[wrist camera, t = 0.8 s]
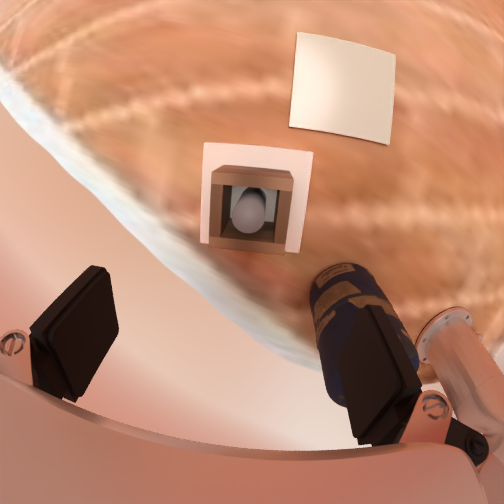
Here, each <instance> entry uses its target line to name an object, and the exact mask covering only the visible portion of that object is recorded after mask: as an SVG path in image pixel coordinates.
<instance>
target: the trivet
mask: <svg viewBox="0 0 504 504" xmlns="http://www.w3.org/2000/svg"><path fill="white" fill-rule="evenodd" d="M394 87H395V54H392V53H389V52H386V51H383V50H380V49H376V48H373V47H369V46H366V45H362V44H358V43H354V42H350V41H346V40H341V39H337V38H332V37H327V36H321V35H316V34H310V33H303V32H297V37H296V50H295V63H294V74H293V86H292V97H291V108H290V118H289V127H296V128H303V129H310V130H317V131H323V132H329V133H334V134H340V135H345V136H350V137H355V138H360V139H364V140H369V141H373V142H378V143H382V144H386V145H389V143H390V135H391V126H392V115H393V103H394Z"/></svg>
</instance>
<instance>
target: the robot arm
mask: <svg viewBox="0 0 504 504" xmlns="http://www.w3.org/2000/svg"><path fill="white" fill-rule="evenodd" d="M472 322H473V321H472V317H471V314H470V313H469V312H468V311H467V310H466V309H465V308H462V307H455V308H451V309H448V310H446V311H444V312H442V313H440V314H439V315H438V316H436V317H435V318H434V319H433V320H431V321H430V322H429V323H428V325H427V326H426V327H425V328H424V329H423V331H422V332H421V334H420V336H419V338H418V340H417V343H416V347H415V348H416V349H417V352H418V355H419V360H420V361H421V362H422V363H425V364H431V365H432V367H433V369H434V371H435V373H436V375H437V377H438V379H439V381H440V383H441V385H442V387H443V389H444V391H445V393H446V395H447V397H448V398H447V397H446V396H445V395H443V394H442V393H440V392H438V391H434V390H428V391H424V392H423V393H422V390H421V387H422V384H421V382H420V379H419V377H418V375H417V373H416V371H415V369H414V367H413V365H412V363H411V361H410V359H409V357H408V355H407V353H406V351H405V349H404V347H403V345H402V343H401V341H400V339H399V337H398V335H397V333H396V331H395V330H394V328H393V326H392V324H391V322H390V320H389V318H388V317H387V315H386V313H385V311H384V309H383V308H382V306H380V305H371V304H367V305H365V306H364V308H361V309H360V310H359V312H358V315H357V317H356V319H355V322H354V324H353V327H352V329H351V331H350V334H349V336H348V338H347V341H346V343H345V345H344V347H343V350H342V352H341V354H340V356H339V358H338V363H337V366H338V371H339V375H340V379H341V383H342V388H343V392H344V396H345V401H346V405H347V410H348V415H349V419H350V424H351V429H352V434H353V436H354V437H355V438H357V440H358V445H364V444H371V445H372V447H367V448H355V449H341V450H322V451H278V450H260V449H248V448H238V447H229V446H221V445H214V444H208V443H202V442H196V441H190V440H186V439H180V438H176V437H172V436H167V435H163V434H159V433H155V432H151V431H147V430H144V429H140V428H137V427H133V426H130V425H127V424H124V423H120V422H117V421H114V420H111V419H109V418H106V417H103V416H100V415H97V414H95V413H92V412H90V411H87V410H85V409H82V408H80V407H77V406H75V405H73V404H70V403H68V402H66V401H63V400H62V398H63V397H64V398H66V399H68V400H70V401H72V402H76V401H77V399H78V397H81V396H83V394H84V393H85V391H86V389H87V387H88V385H89V384H90V382H91V380H92V378H93V376H94V374H95V373H96V371H97V369H98V367H99V366H100V364H101V362H102V360H103V359H104V357H105V355H106V354H107V352H108V350H109V348H110V347H111V345H112V344H113V342H114V340H115V338H116V337H117V335H118V332H119V327H118V321H117V316H116V310H115V304H114V298H113V292H112V285H111V278H110V274H109V273H108V272H107V270H106V269H105V268H104V267H98V266H94V265H91V266H90V267H89V268H87V269H86V270H85V271H84V272H83V273H82V274H81V275H80V276H79V277H78V278H77V279H76V280H75V281H74V282H73V283H72V284H71V285H70V286H69V287H68V288H67V289H66V290H65V291H64V292H63V293H62V294H61V295H60V296H59V297H58V298H57V299H56V300H55V301H54V302H53V303H52V304H51V305H50V306H49V307H48V308H47V309H46V310H45V311H44V312H43V313H42V315H41V316H40V317H39V318H38V319H37V320H36V321H35V322H34V324H32V326H31V327H30V330H31V334H30V335H29V336H28V334H27V333H26V332H24V331H23V330H18V329H17V330H11V331H8V332H6V333H5V334H3V335H2V336H1V337H0V504H504V375H503V373H502V372H501V370H500V369H499V367H498V366H497V364H496V363H495V361H494V360H493V358H492V357H491V355H490V354H489V353H488V351H487V350H486V348H485V347H484V346H483V344H482V343H481V340H482V338H483V335H482V334H476V333H475V332H474V331H473V329H472ZM452 408H453V411H454V413H455V415H456V417H457V420H456V419H454V418H453V417H452ZM479 432H481V433H483V435H482V434H481V433H479Z"/></svg>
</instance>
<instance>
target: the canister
mask: <svg viewBox="0 0 504 504" xmlns="http://www.w3.org/2000/svg"><path fill="white" fill-rule="evenodd" d="M367 304H371V305H380V306H382V308H383V309H384V311H385V313H386V315H387V317H388V318H389V320H390V322H391V324H392V326H393V328H394V330H395V331H396V333H397V335H398V337H399V339H400V341H401V343H402V345H403V347H404V349H405V351H406V353H407V355H408V357H409V359H410V361H411V363H412V365H413V367H414V369H415V371H416V373H417V371H418V367H419V355H418V352H417V349H416V348H415V346H414V344H413V343H412V340H411V338H410V336H409V335H408V333H407V331H406V330H405V328H404V326H403V324H402V322H401V321H400V319H399V318H398V316H397V314H396V313H395V311H394V309H393V307H392V305H391V304H390V302H389V300H388V299H387V297H386V296H385V294H384V293H383V291H382V290H381V289H380V287H379V286H378V285H377V283H376V281H375V279H374V277H373V276H372V274H371V273H370V272H369V271H368V270H367V269H365V268H363V267H362V266H359V265H356V264H340V265H336V266H333V267H331V268H329V269H327V270H325V271H324V272H323V273H322V274H321V275H320V276H319V277H318V278H317V279H316V281H315V282H314V284H313V286H312V289H311V292H310V306H311V311H312V316H313V321H314V326H315V331H316V343H317V348H318V350H319V353H320V359H321V364H322V370H323V376H324V380H325V386H326V390H327V393H328V395H329V396H330V398H331V399H332V400H333V401H334V402H335V403H337V404H338V405H340V406H343V407H346V408H347V405H346V401H345V396H344V392H343V388H342V383H341V379H340V375H339V371H338V366H337V363H338V358H339V356H340V354H341V352H342V350H343V347H344V345H345V343H346V341H347V338H348V336H349V334H350V331H351V329H352V327H353V324H354V322H355V319H356V317H357V315H358V312H359V310H360V309H361V308H364V306H365V305H367Z"/></svg>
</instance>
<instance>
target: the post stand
mask: <svg viewBox="0 0 504 504" xmlns="http://www.w3.org/2000/svg"><path fill="white" fill-rule="evenodd" d="M312 160H313V152H311V151H308V150H300V149H293V148H284V147H276V146H266V145H255V144H243V143H228V142H204V152H203V170H202V192H201V223H200V243H208V244H209V216H210V193H211V174H212V171H214V170H216V169H217V168H219V167H221V166H222V165H237V166H249V167H259V168H269V169H279V170H287V171H290V173H291V175H292V177H293V179H294V183H293V191H292V199H291V207H290V215H289V222H288V230H287V237H286V244H285V251H284V252H293V253H299V250H300V244H301V238H302V232H303V225H304V219H305V212H306V205H307V198H308V191H309V183H310V176H311V168H312ZM276 196H277V190H274V189H265V188H255V187H244V186H233V185H232V196H231V211H230V218H232V222H233V224H234V226H235V227H236V228H237V229H238V230H239V231H241V232H243V233H254V232H256V231H258V230H259V229H260V228H261V227H262V226H263V224H264V221H267V222H274V213H275V205H276Z"/></svg>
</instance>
